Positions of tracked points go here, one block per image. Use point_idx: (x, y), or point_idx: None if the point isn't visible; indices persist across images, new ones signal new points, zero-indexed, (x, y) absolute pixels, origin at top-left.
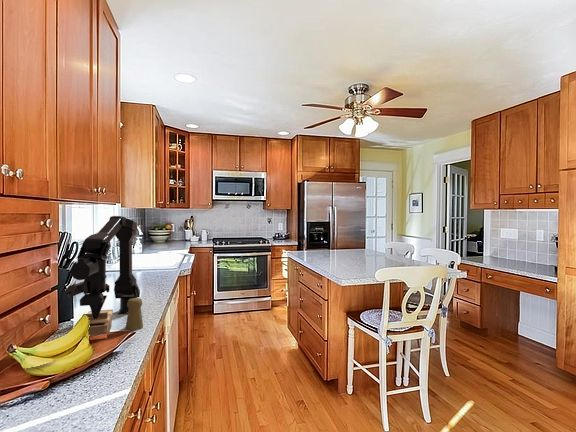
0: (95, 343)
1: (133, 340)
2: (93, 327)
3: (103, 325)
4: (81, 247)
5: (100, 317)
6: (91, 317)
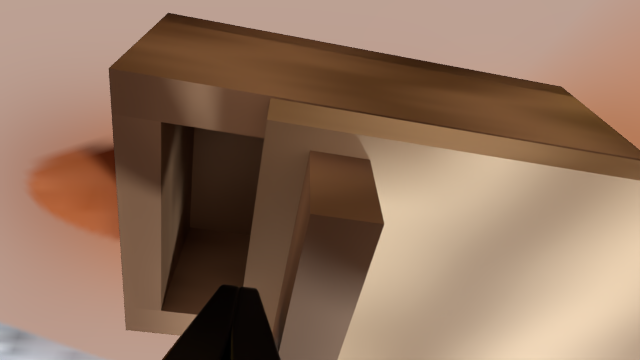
0: (71, 151)
1: (67, 355)
2: (119, 219)
3: (143, 304)
4: None
5: (275, 338)
6: (290, 266)
